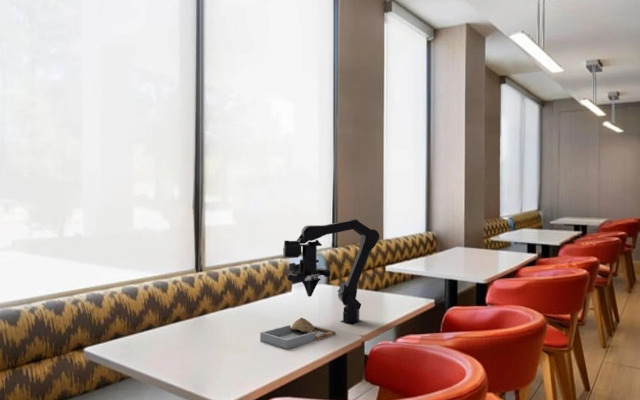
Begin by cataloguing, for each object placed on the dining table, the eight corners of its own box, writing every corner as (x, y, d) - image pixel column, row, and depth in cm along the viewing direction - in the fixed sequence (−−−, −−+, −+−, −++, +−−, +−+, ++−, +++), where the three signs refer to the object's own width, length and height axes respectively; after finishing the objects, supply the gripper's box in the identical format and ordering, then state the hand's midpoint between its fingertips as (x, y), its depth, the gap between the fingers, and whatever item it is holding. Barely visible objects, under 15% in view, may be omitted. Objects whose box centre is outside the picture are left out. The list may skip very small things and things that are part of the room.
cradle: (304, 327, 194) (304, 323, 194) (335, 335, 182) (335, 331, 182) (286, 332, 187) (286, 328, 187) (317, 341, 176) (317, 336, 176)
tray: (289, 332, 186) (289, 325, 186) (315, 340, 176) (315, 332, 176) (260, 340, 176) (260, 332, 176) (286, 349, 166) (286, 340, 166)
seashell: (304, 332, 180) (292, 316, 185) (298, 342, 183) (287, 327, 187) (320, 327, 186) (308, 312, 190) (315, 337, 188) (303, 322, 193)
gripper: (311, 253, 207) (311, 290, 208) (278, 257, 194) (278, 297, 194) (331, 255, 200) (331, 294, 200) (298, 260, 186) (298, 301, 186)
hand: (309, 296), depth 195 cm, fingers closed
